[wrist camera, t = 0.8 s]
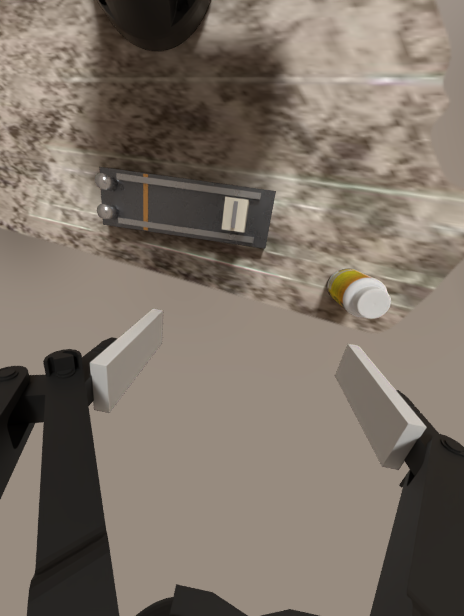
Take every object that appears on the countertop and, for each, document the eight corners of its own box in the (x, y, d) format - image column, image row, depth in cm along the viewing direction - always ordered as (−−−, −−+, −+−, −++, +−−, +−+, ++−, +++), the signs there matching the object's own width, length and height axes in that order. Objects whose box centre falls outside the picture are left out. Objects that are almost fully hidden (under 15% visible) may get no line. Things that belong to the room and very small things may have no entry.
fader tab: (228, 200, 33) (224, 196, 28) (249, 202, 33) (248, 199, 28) (225, 228, 34) (221, 229, 30) (244, 231, 34) (243, 232, 30)
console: (107, 170, 35) (90, 163, 31) (274, 193, 34) (277, 189, 30) (110, 224, 38) (94, 224, 34) (264, 247, 37) (265, 249, 33)
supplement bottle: (319, 291, 38) (341, 313, 29) (339, 261, 36) (369, 274, 27) (347, 305, 39) (378, 331, 29) (368, 277, 37) (408, 294, 27)
